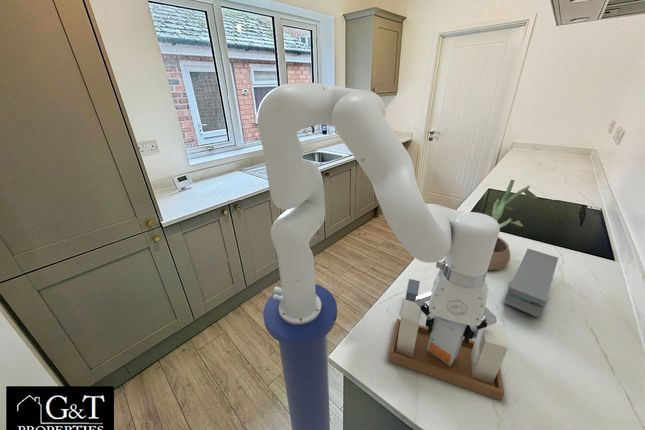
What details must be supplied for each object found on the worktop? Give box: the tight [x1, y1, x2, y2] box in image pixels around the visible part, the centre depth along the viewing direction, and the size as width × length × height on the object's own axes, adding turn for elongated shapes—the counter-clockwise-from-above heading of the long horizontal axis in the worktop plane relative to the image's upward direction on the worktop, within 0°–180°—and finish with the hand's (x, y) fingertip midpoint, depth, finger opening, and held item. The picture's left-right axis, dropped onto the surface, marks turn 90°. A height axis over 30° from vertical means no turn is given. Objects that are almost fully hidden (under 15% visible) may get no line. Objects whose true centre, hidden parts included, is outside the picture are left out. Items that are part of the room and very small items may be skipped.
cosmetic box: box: [427, 316, 467, 366], centre depth 61 cm, size 6×4×12 cm
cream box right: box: [471, 322, 509, 384], centre depth 58 cm, size 4×6×12 cm, turn 157°
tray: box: [388, 318, 505, 401], centre depth 64 cm, size 24×12×3 cm, turn 67°
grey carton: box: [404, 278, 421, 302], centre depth 76 cm, size 3×6×9 cm, turn 157°
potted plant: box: [483, 179, 538, 271], centre depth 94 cm, size 22×18×30 cm
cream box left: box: [396, 299, 422, 357], centre depth 64 cm, size 4×6×12 cm, turn 157°
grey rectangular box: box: [504, 248, 559, 318], centre depth 78 cm, size 25×8×11 cm, turn 136°
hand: (447, 332), depth 60 cm, fingers closed on cosmetic box, 7 cm apart
